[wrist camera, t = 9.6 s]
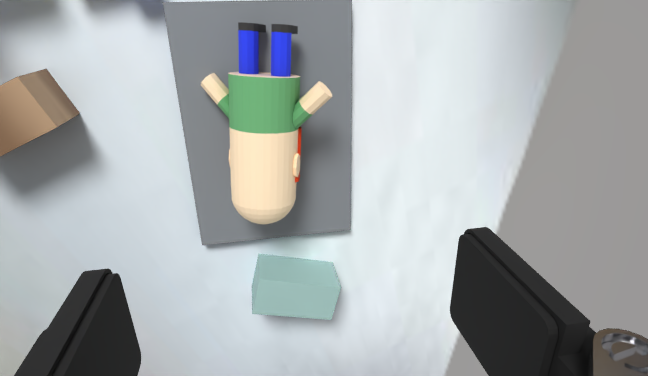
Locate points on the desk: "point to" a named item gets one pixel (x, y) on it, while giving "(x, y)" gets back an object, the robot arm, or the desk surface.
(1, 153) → the walnut brick
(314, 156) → the mat
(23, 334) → the desk surface
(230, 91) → the toy figurine
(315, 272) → the teal brick
